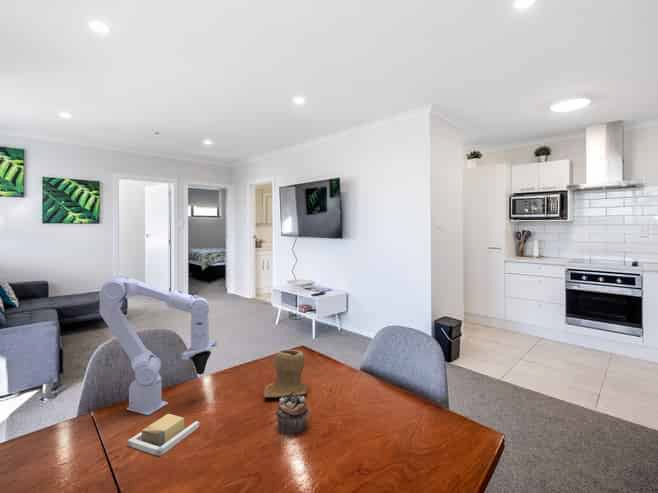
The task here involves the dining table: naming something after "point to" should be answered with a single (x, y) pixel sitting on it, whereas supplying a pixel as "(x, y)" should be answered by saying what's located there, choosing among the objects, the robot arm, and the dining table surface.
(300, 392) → the stone cup
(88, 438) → the dining table surface
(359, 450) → the dining table surface
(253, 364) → the dining table surface
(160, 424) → the block
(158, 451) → the end holder
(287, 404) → the cupcake
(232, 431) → the dining table surface
